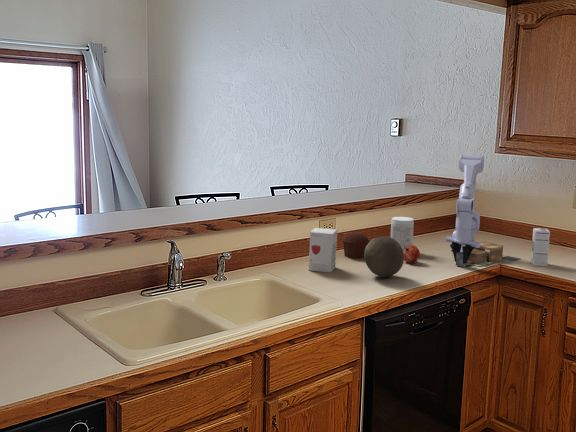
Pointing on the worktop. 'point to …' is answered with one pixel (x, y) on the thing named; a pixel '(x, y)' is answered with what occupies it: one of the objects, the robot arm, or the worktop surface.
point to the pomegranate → (411, 254)
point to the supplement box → (322, 250)
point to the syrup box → (540, 247)
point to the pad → (480, 264)
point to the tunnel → (492, 250)
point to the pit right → (510, 258)
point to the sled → (472, 257)
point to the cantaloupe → (384, 256)
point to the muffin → (355, 245)
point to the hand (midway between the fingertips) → (460, 262)
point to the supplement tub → (402, 230)
